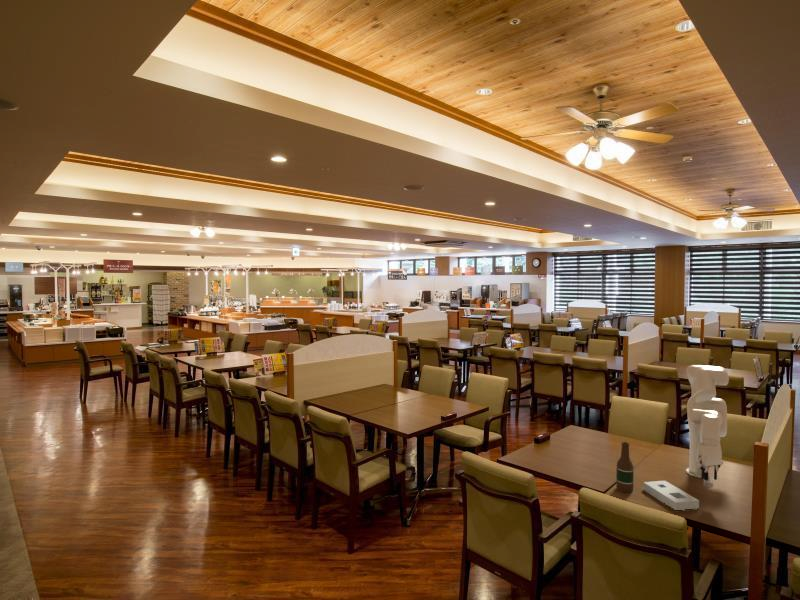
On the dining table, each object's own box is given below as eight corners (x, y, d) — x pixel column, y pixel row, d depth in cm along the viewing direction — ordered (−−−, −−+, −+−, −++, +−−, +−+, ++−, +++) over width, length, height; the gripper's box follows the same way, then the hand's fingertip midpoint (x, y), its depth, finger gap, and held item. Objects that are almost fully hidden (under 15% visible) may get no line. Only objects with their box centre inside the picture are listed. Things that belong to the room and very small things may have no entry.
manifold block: (664, 488, 236) (664, 480, 236) (698, 508, 215) (699, 500, 214) (643, 489, 234) (643, 482, 234) (675, 511, 213) (675, 502, 213)
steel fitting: (709, 483, 220) (709, 462, 220) (716, 487, 216) (716, 466, 216) (701, 484, 220) (702, 463, 219) (708, 487, 216) (709, 467, 215)
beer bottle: (632, 494, 230) (633, 446, 229) (615, 490, 234) (615, 443, 233) (634, 488, 236) (634, 442, 235) (617, 484, 240) (617, 439, 239)
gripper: (718, 436, 222) (717, 474, 223) (687, 439, 219) (687, 477, 220) (732, 442, 214) (731, 481, 215) (700, 445, 212) (699, 484, 213)
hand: (709, 478), depth 218 cm, fingers closed on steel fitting, 4 cm apart
